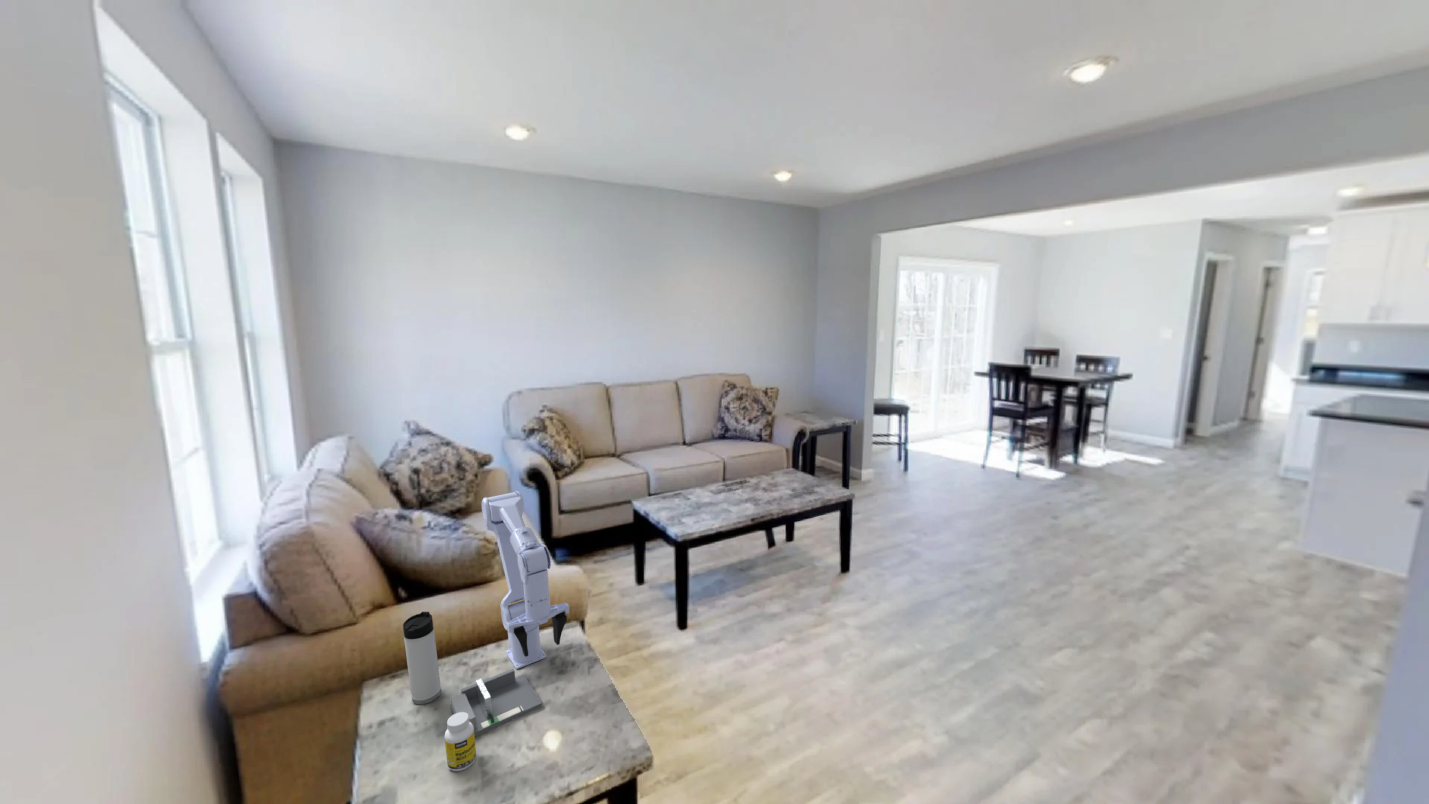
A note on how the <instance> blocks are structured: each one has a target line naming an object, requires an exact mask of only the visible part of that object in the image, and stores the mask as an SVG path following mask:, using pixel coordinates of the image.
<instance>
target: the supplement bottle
mask: <svg viewBox="0 0 1429 804" xmlns="http://www.w3.org/2000/svg"><path fill="white" fill-rule="evenodd" d="M446 726H447V729H446V731H445V733H444V744H445V745H444V746H445V753H446V765H447V768H448V769H449V770H450V771H452V772H462V771H464V770H466V769H468V768H471V766H472V765H473V764H474V763H475V761H476V759H477V749H476V737H475V736H474V727H473V724H472V723H471V722H469V715H468V714H467V713H465V712H459V713H456V714H454V715H453V714H452V715H451V716H450V717H449V718H448V719H447V721H446Z"/></svg>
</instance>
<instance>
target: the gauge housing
mask: <svg viewBox="0 0 1429 804" xmlns="http://www.w3.org/2000/svg"><path fill="white" fill-rule="evenodd" d="M482 681H483V683H484V685H485V687H486V689H487V691H488V693H489V695H490V697H491V705H492V715H493V716H492V717H493V719H494V722H493V723H491V721H490V719H489V718H487V717H486V715H485V713H484V711H483V709H482V707H481V705H480V702H479V700H478V696H477V687H476V683H474V684H471V685H469V686H465V687H463V688H461V689H460V692H461V693H460V694H457V695H455V696H452V697H451V698H450V699H449V700H450V705H449V707H450V710H451V713H452V715H454V714H456V713H459V712H465V713H467V714H468V715H469V722H471V723H472V724H473V727H474V736H475V738H476V737H478V736H480V735H482V734H484V733H487V732H490V731H492V730H493V729H497V728H498V727H501V726H503V725H504V724H507V723H510V722H512V721H513V720H516V719H518V718H520V717H524V716H525V715H528V714H529V713H533V712H534V711H537V710H538V709H541V708H542V707H543V703H542V701H541V699H540V698H539V696H538V695H537V693H536V692H535V689H534V688H533V686H532V685H531V683H530V682H529V680H528V679H527V677H526V675H524V674H522V675H520V676H518V677H516V672H515V670H514V668H511V669H509V670H507V671H504V672H501V673H499V674H496V675H493V676H492V677H489V678H485V679H483V680H482Z"/></svg>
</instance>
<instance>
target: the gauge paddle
mask: <svg viewBox="0 0 1429 804" xmlns="http://www.w3.org/2000/svg"><path fill="white" fill-rule="evenodd" d="M482 679H483V678H478V679H476V680H475V684H476V687H477V696H478V700H479V702H480V705H481V707H482V709H483V711H484V713H485V715H486V717H487V718H489V719H490V721H491V723H493V722H494V719H493V717H492V716H493V715H492V705H491V697H490V695H489V693H488V691H487V689H486V687H485V685H484V683H483V680H482Z"/></svg>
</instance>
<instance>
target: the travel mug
mask: <svg viewBox="0 0 1429 804" xmlns="http://www.w3.org/2000/svg"><path fill="white" fill-rule="evenodd" d="M433 621H434V620H433V616H432V614H431V613H430V611H421V612H420V613H416V614H414V615H412V616H409V618H407V619H406V620H405V621H404V622H403V624H402V630H403V641H404V646H405V647H404V648H405V655H406V663H407V670H408V671H407V672H408V680H409V687H410V693H411V694H410V695H411V702H412V703H414V704H416V705H425V704H428V703H431V702H432V701H433V702H434V700H436V699H437V698H438V697H439V696H440V695H441V692H442V688H441V687H442V686H441V680H440V671H439V670H440V668H439V663H438V662H439V661H438V654H437V644H436V635H435V634H436V633H435V630H434V629H435V628H434V622H433Z"/></svg>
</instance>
